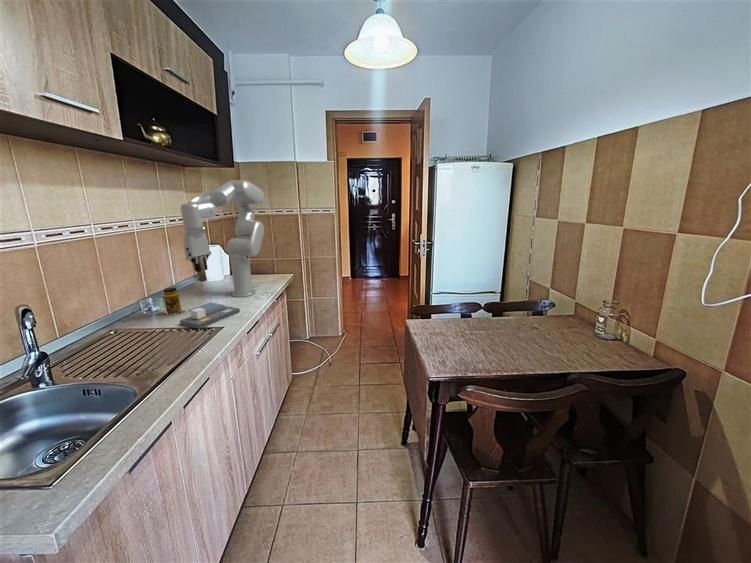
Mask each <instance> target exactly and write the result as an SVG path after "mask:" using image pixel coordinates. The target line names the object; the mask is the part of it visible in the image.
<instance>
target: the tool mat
mask: <svg viewBox="0 0 751 563" xmlns="http://www.w3.org/2000/svg"><path fill="white" fill-rule="evenodd" d="M221 305H222V306H225V305H224V304H221V303H215V302H208V303H204V304H202V305H199V306H196V307H193V308H190V309H189V310H188V311H189V312H191V310H194V309H196V308H203V309H205V311H207V310H210V309H213V308H216V307H218V306H221Z"/></svg>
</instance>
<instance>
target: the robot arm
mask: <svg viewBox="0 0 751 563" xmlns="http://www.w3.org/2000/svg"><path fill="white" fill-rule="evenodd" d="M233 200H234V202H235V204H236V206H237V209H238V214H237V219H236V222H235V225H234V234H235V236H236V237H233V238H231V239H229V240H228V241H227V242H226V250H227V253H228V256H229V260H230V265H231V272H232V274H231V275H232V279H233V288H234V291H232V292H231V295H232V296H233V297H236V298H239V297H241V298H243V297H249V296H252V295H255V294H256V292H257V291H256V289H255V288H258V287H259V284H258V283H255V284H253V281H252V272H251V264H250V261H249V259H248V256H249V257H254V256H257V255H258V254H259V253H260V251H261V247H262V244H263V239H264V235H265V226H264V224H263V223H262V222H261V221H260V220H255V210H253V209H252V207H251V205H260V204H262V203H263V202H264V201H265V194H264V191H263V190H262V189H261V188H260V187H259V186H257V185H255V184H253V183H252V182H250V181H248V180H244V179H240V180H239V179H238V180H235V179H232V180H228V181H225V183H223V184H221V185H220V186H219V187H217V188H216V189H213V190H211V191H207V192H206V193H203V194H200V195H197V196H195V197H194V198H192V199H190V200H189V201H187V202H186V203H182V204H181V205H180V212H181V218H182V223H183V227H184V234H185V235H183V249H184V254H185V260H186V261H189V262H191V263H192V264H193V268H194V271H195V272H197V273H198V272H201V268H200V263H198V256H202V255H203V261H204V266H205V271H208V270H209V269H208V263H207V261H208V259H209V257H210V256H211V255H212V252H211V250H210V244H209V241H208V236H207V234H206V233H205V230H206V229H205V228H206V227H204V226H203V220H202V219H212V218H214V217H216V215H217V212H218V209H217V208H220V207H221V208H222V207H224V206H226V205H228V204H229V203H231V202H232V201H233Z"/></svg>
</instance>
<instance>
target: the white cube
mask: <svg viewBox="0 0 751 563" xmlns="http://www.w3.org/2000/svg"><path fill="white" fill-rule="evenodd" d="M195 308H196V307H195ZM190 315H191V316H190V317H192V318H194V319H200V318H203V317H205V316H206V314H205V309H203V308H196V309H194V310H191V311H190Z"/></svg>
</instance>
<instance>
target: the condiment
mask: <svg viewBox="0 0 751 563" xmlns="http://www.w3.org/2000/svg"><path fill="white" fill-rule="evenodd" d="M179 295H180V294H179V293H178V290H177V287H174V286H173V287H172V286H171V287H167V288H164V289H163V299H164V304H165V309H166V310H165V311H167V313H168V314H174V315H176V314H175V313H178V314H180V313H179V312H181V310H183V312H181V313H184V312H185V310H184V309H182V306H181V301H180V296H179Z"/></svg>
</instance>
